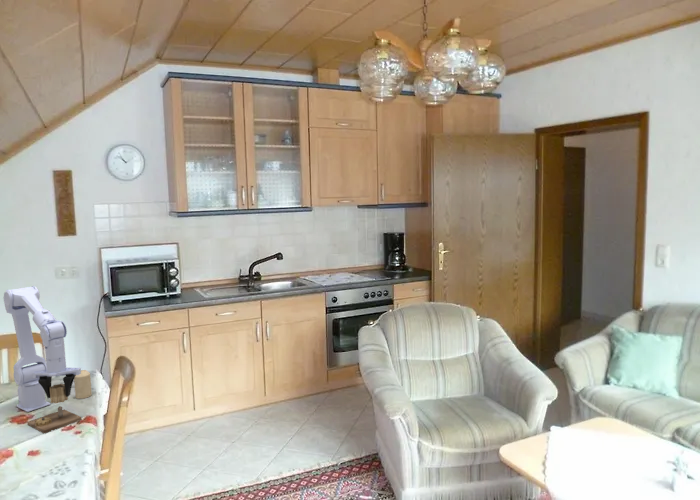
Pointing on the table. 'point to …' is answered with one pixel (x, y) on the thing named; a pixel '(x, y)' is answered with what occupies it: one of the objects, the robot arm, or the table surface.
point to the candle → (83, 385)
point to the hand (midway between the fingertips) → (59, 396)
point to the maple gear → (58, 393)
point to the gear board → (54, 420)
